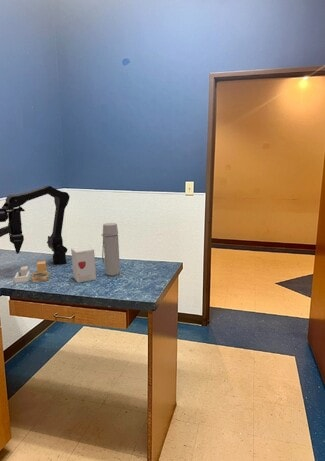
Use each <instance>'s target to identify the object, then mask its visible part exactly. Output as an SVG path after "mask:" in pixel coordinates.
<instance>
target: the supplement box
mask: <svg viewBox="0 0 325 461" xmlns="http://www.w3.org/2000/svg"><path fill="white" fill-rule="evenodd" d="M70 249H71V250H70V251H71V261H72V262H71V264H72V276H73V277H72V278H74V280H75V282H77V283H78V284H79V283H84V282H89V281H94V280H97V272H96V257H95V248H94V247H92V246H90V245H83V246H82V245H81V246H76V247H74V246H73V247H71V248H70Z"/></svg>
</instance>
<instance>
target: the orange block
mask: <svg viewBox="0 0 325 461" xmlns="http://www.w3.org/2000/svg"><path fill="white" fill-rule="evenodd" d="M36 269H37V273H38V272H47V271H48V269H47V260H43V261H37V263H36Z"/></svg>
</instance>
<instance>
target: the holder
mask: <svg viewBox="0 0 325 461" xmlns="http://www.w3.org/2000/svg"><path fill="white" fill-rule="evenodd" d="M49 278H50V271H48V270H47V272H38V271H37V272H32V274H31V276H30V282H31V283H33V284H34V283H42V282H48V281H49V280H50V279H49Z"/></svg>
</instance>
